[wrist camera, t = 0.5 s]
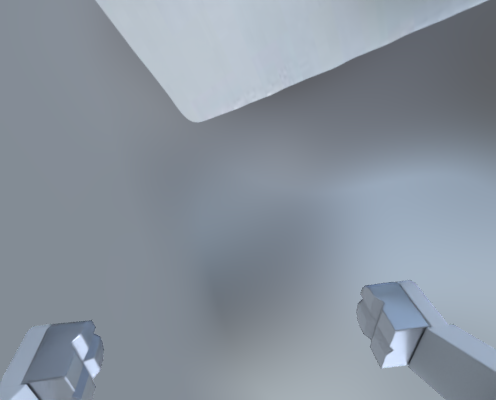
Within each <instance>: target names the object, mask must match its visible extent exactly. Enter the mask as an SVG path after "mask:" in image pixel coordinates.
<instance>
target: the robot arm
mask: <svg viewBox="0 0 496 400" xmlns="http://www.w3.org/2000/svg"><path fill="white" fill-rule="evenodd" d="M361 296H362V298H363V299H362V300H361V301H360V302H359V303H358V306H357V319H358V323H359V326H360V328H361V330H362V332H363V334H364V335H366V336H367V337H368V338H370V339H371V345H370V348H371V350H372V352H373V354H374V356H375V358H376V360H377V362H378V364H379V366H380V367H381V368H388V367H397V366H405V365H409V366H408V367H409V368H410V369H411V370H412V371H413V372H415V373H416V374H417V375H418V376H419V377H420V378H422V379H423V380H424V381H425V382H426V383H427V384H428V385H430V386H431V387H432V388H433V389H434V390H435V391H436V392H438V393H439V394H440V395H441V396H442V397H443V398H444V399H446V400H496V349H495V348H493V347H491V346H489V345H488V344H486V343H484V342H483V341H481V340H479V339H478V338H476V337H474V336H473V335H471V334H469V333H467V332H466V331H464V330H462V329H461V328H459V327H457V326H456V325H454V324H449V325H448V323H447V322H446V321H445V320H444V319H443V317H442V316H441V315H440V313H439V312H438V311H437V309H436V308H435V307H434V306H433V304H432V303H431V302H430V301H429V299H428V298H427V297H426V296H425V294H424V293H423V292H422V290H421V289H420V288H419V287H418V285H417V284H416V283H415V282H413V281H412V280H407V281H399V282H389V283H381V284H374V285H367V286H364V287H363V288H362V290H361ZM95 328H96V327H95V325H94V324H93V322H92V320H89V321H79V322H69V323H58V324H49V325H40V326H33V327H32V328H31V329H30V330H29V331H28V332H27V333H26V335H25V337H24V339H23V340H22V343H21V345H20V346H19V348H18V350H17V352H16V353H15V355H14V357H13V359H12V361H11V363H10V365H9V366H8V368H7V370H6V372H5V374H4V376H3V378H2V380H1V381H0V400H92V399H93V395H94V391H95V388H96V386H95V384H94V382H93V380H92V379H93V378H94V377H95V376H96V375H97V373H98V372H99V371H100V370H101V366H102V362H103V353H104V348H103V342H102V340H101V337H100V336H98V335H96V334H94V331H95Z"/></svg>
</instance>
